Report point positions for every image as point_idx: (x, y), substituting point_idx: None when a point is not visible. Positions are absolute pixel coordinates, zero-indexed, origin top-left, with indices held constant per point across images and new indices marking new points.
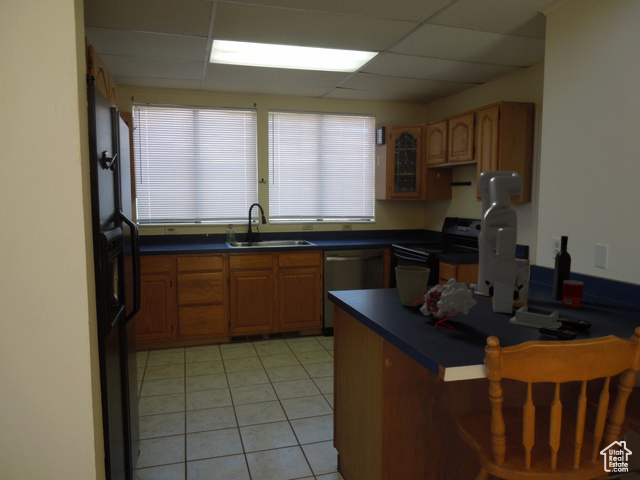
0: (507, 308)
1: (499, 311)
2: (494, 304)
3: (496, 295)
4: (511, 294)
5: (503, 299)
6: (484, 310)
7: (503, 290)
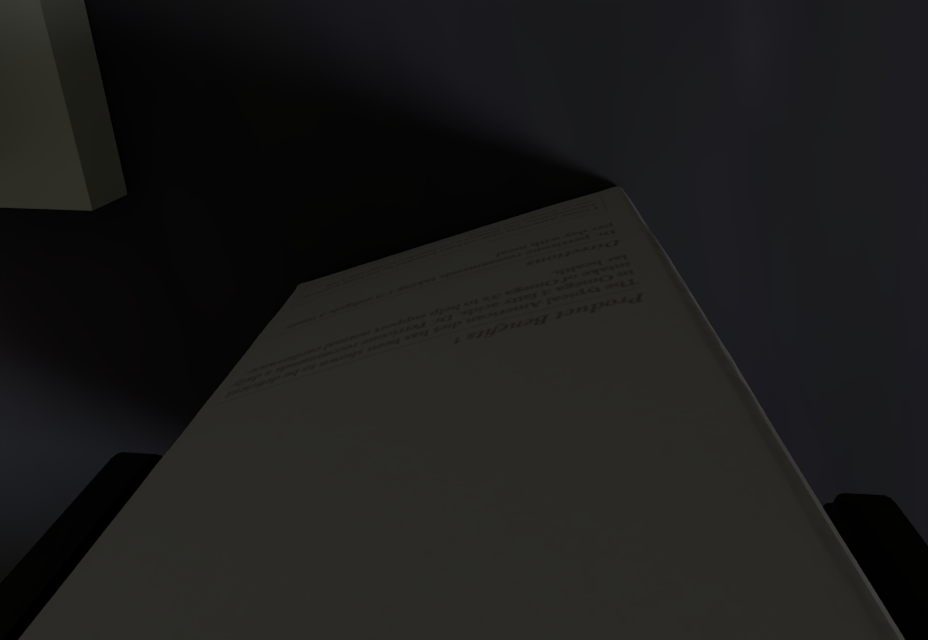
0: (354, 294)
1: (513, 221)
2: (645, 235)
3: (652, 375)
4: (112, 561)
5: (407, 366)
6: (829, 187)
7: (352, 629)
